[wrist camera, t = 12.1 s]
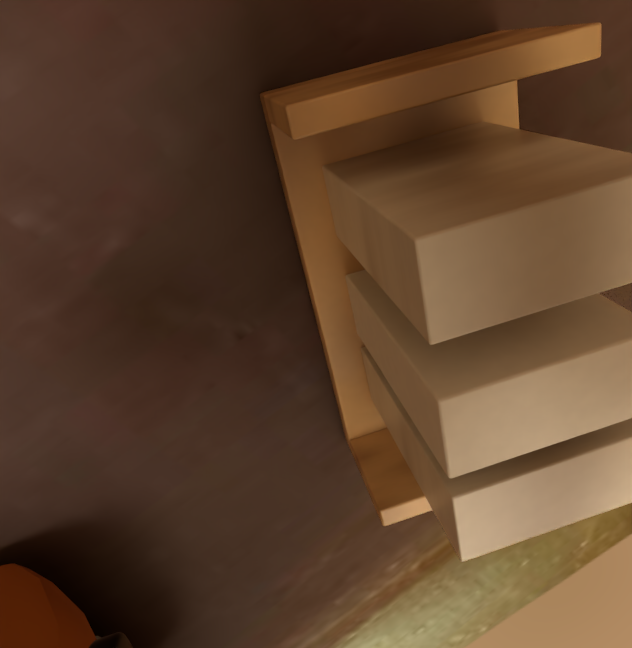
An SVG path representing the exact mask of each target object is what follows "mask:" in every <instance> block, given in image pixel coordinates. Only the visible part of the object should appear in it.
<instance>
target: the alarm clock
mask: <svg viewBox="0 0 632 648" xmlns="http://www.w3.org/2000/svg"><path fill="white" fill-rule="evenodd" d="M99 638H101V637H99V636H95V635H94V633H93V631H92V629H91V627H90V625H89V623H88V621H87V618H86V616H85V614H84V613H83V612H82V611H81V610H80V609H79V608H78V607H77V606H76V605H75V604H74V603H73V602H72V601H71V600H70V599H69V598H68V597H67V596H66V595H65V594H64V593H63V592H62V591H61V590H60V589H59V588H58V587H57V586H56V585H55V584H54V583H53V582H51V581H49V580H48V579H46V578H44V577H42V576H41V575H39V574H37V573H36V572H34V571H32V570H30V569H28V568H26V567H23V566H20V565H17V564H14V563H12V564H6V565H1V566H0V648H89V646H90V645H91V644H92V643H93V642H94V641H95V640H97V639H99Z"/></svg>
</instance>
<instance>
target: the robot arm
mask: <svg viewBox="0 0 632 648" xmlns="http://www.w3.org/2000/svg"><path fill="white" fill-rule="evenodd" d="M89 648H133V647H132V645H131V643H130V642H129V640H128V638H127V637H126V635H125V634H123V633H121V632H117V633H114V634H111V635H108V636H105V637H102V638H99V639H97V640H95V641H94V642H93V643H92V644H91V645H90V646H89Z"/></svg>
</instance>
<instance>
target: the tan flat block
mask: <svg viewBox="0 0 632 648" xmlns="http://www.w3.org/2000/svg"><path fill="white" fill-rule="evenodd" d="M346 283H347V287H348V292H349V297H350V301H351V306H352V311H353V315H354V320H355V325H356V330H357V333H358V335H359V336H360V338H361V340H362V341H363V343H364V344H365V346H366V348H367V349H368V351H369V352H370V354H371V356H372V357H373V359H374V360H375V362H376V364H377V365H378V367H379V368H380V370H381V371H382V373H383V375H384V376H385V378H386V379H387V381H388V383H389V384H390V386H391V387H392V389H393V391H394V392H395V394H396V395H397V397H398V399H399V400H400V402H401V403H402V405H403V406H404V408H405V410H406V411H407V413H408V414H409V416H410V418H411V419H412V421H413V422H414V424H415V426H416V427H417V429H418V430H419V432H420V434H421V435H422V437H423V438H424V440H425V441H426V443H427V445H428V446H429V448H430V449H431V451H432V453H433V454H434V456H435V457H436V459H437V461H438V462H439V464H440V465H441V467H442V469H443V470H444V472H445V473H446V475H447V476H448V478H454V477H457V476H460V475H463V474H466V473H469V472H472V471H475V470H478V469H481V468H484V467H487V466H490V465H493V464H496V463H499V462H502V461H505V460H508V459H511V458H514V457H517V456H520V455H523V454H526V453H529V452H532V451H535V450H538V449H541V448H544V447H547V446H550V445H553V444H556V443H559V442H562V441H565V440H568V439H571V438H574V437H577V436H580V435H583V434H586V433H589V432H592V431H595V430H598V429H601V428H604V427H607V426H610V425H613V424H616V423H619V422H622V421H625V420H628V419H631V418H632V312H630V311H629V310H627V309H625V308H623V307H622V306H620V305H618V304H616V303H615V302H613V301H611V300H609V299H608V298H606V297H604V296H602V295H601V294H599V293H597V294H593V295H590V296H587V297H584V298H581V299H577V300H574V301H571V302H568V303H565V304H561V305H558V306H555V307H552V308H549V309H545V310H542V311H539V312H536V313H533V314H529V315H526V316H523V317H520V318H517V319H513V320H510V321H507V322H504V323H500V324H497V325H494V326H491V327H488V328H484V329H481V330H478V331H475V332H472V333H468V334H465V335H462V336H459V337H456V338H452V339H449V340H446V341H443V342H440V343H436V344H433V345H430V344H429V343H428V342H427V341H426V340H425V338H424V337H423V336H422V335H421V334H420V333H419V331H418V330H417V329H416V328H415V327H414V326H413V324H412V323H411V322H410V321H409V320H408V319H407V317H406V316H405V315H404V314H403V313H402V311H401V310H400V309H399V308H398V307H397V306H396V304H395V303H394V302H393V301H392V300H391V299H390V297H389V296H388V295H387V294H386V293H385V292H384V290H383V289H382V288H381V287H380V286H379V285H378V283H377V282H376V281H375V280H374V279H373V278H372V276H371V275H370V274H369V273H368V272H367V271H366V269H365V270H362V271H359V272H355V273H352V274H348V275H346Z"/></svg>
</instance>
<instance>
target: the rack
mask: <svg viewBox="0 0 632 648" xmlns="http://www.w3.org/2000/svg"><path fill="white" fill-rule="evenodd" d="M600 56H601V23H586V24H574V25H562V26H550V27H539V28H527V29H515V30H502V31H496V32H492V33H488V34H484V35H480V36H477V37H473V38H469V39H465V40H461V41H458V42H454V43H450V44H446V45H442V46H438V47H435V48H431V49H427V50H423V51H419V52H415V53H412V54H408V55H404V56H400V57H396V58H393V59H389V60H385V61H381V62H377V63H373V64H370V65H366V66H362V67H358V68H354V69H350V70H347V71H343V72H339V73H335V74H331V75H328V76H324V77H320V78H316V79H312V80H308V81H305V82H301V83H297V84H293V85H289V86H285V87H282V88H278V89H274V90H270V91H266V92H263V93H260V99H261V103H262V107H263V111H264V115H265V119H266V123H267V127H268V131H269V135H270V139H271V143H272V147H273V151H274V155H275V159H276V163H277V167H278V171H279V175H280V179H281V183H282V187H283V191H284V195H285V199H286V203H287V207H288V211H289V215H290V218H291V222H292V226H293V230H294V234H295V238H296V242H297V246H298V250H299V254H300V258H301V262H302V266H303V270H304V274H305V278H306V282H307V286H308V290H309V294H310V298H311V302H312V306H313V310H314V314H315V318H316V322H317V326H318V330H319V334H320V338H321V342H322V346H323V350H324V354H325V358H326V362H327V366H328V370H329V374H330V378H331V382H332V386H333V389H334V393H335V397H336V401H337V405H338V409H339V413H340V417H341V421H342V425H343V429H344V433H345V437H346V441H347V443H348V445H349V448H350V450H351V452H352V455H353V457H354V459H355V462H356V464H357V466H358V469H359V471H360V473H361V476H362V478H363V481H364V483H365V485H366V488H367V490H368V492H369V495H370V497H371V499H372V502H373V504H374V507H375V509H376V511H377V514H378V516H379V518H380V521H381V523H382V525H383V526H387V525H390V524H393V523H396V522H399V521H402V520H405V519H408V518H411V517H414V516H417V515H420V514H423V513H425V512H428V511H431V510H433V512H434V513H435V515H436V517H437V519H438V521H439V523H440V524H441V526H442V528H443V530H444V532H445V534H446V535H447V537H448V539H449V541H450V543H451V544H452V546H453V548H454V550H455V552H456V554H457V555H458V557H459V559H460V561H461V562H464V561H467V560H470V559H472V558H475V557H478V556H481V555H484V554H487V553H490V552H492V551H495V550H498V549H501V548H504V547H507V546H509V545H512V544H515V543H518V542H521V541H524V540H527V539H529V538H532V537H535V536H538V535H541V534H544V533H547V532H549V531H552V530H555V529H558V528H561V527H564V526H566V525H569V524H572V523H575V522H578V521H581V520H584V519H586V518H589V517H592V516H595V515H598V514H601V513H604V512H606V511H609V510H612V509H615V508H618V507H621V506H624V505H626V504H629V503H632V418H631V419H628V420H625V421H622V422H619V423H616V424H613V425H610V426H607V427H604V428H601V429H598V430H595V431H592V432H589V433H586V434H583V435H580V436H577V437H574V438H571V439H568V440H565V441H562V442H559V443H556V444H553V445H550V446H547V447H544V448H541V449H538V450H535V451H532V452H529V453H526V454H523V455H520V456H517V457H514V458H511V459H508V460H505V461H502V462H499V463H496V464H493V465H490V466H487V467H484V468H481V469H478V470H475V471H472V472H469V473H466V474H463V475H460V476H457V477H454V478H448V476H447V475H446V473H445V472H444V470H443V469H442V467H441V465H440V464H439V462H438V461H437V459H436V457H435V456H434V454H433V453H432V451H431V449H430V448H429V446H428V445H427V443H426V441H425V440H424V438H423V437H422V435H421V434H420V432H419V430H418V429H417V427H416V426H415V424H414V422H413V421H412V419H411V418H410V416H409V414H408V413H407V411H406V410H405V408H404V406H403V405H402V403H401V402H400V400H399V399H398V397H397V395H396V394H395V392H394V391H393V389H392V387H391V386H390V384H389V383H388V381H387V379H386V378H385V376H384V375H383V373H382V371H381V370H380V368H379V367H378V365H377V364H376V362H375V360H374V359H373V357H372V356H371V354H370V352H369V351H368V349H367V348H366V346H365V344H364V343H363V341H362V340H361V338H360V336H359V335H358V333H357V330H356V325H355V320H354V315H353V311H352V306H351V301H350V297H349V292H348V287H347V283H346V275H348V274H352V273H355V272H359V271H362V270H365V269H366V271H367V272H368V273H369V274H370V275H371V276H372V278H373V279H374V280H375V281H376V282H377V283H378V285H379V286H380V287H381V288H382V289H383V290H384V292H385V293H386V294H387V295H388V296H389V297H390V299H391V300H392V301H393V302H394V303H395V304H396V306H397V307H398V308H399V309H400V310H401V311H402V313H403V314H404V315H405V316H406V317H407V319H408V320H409V321H410V322H411V323H412V324H413V326H414V327H415V328H416V329H417V330H418V331H419V333H420V334H421V335H422V336H423V337H424V338H425V340H426V341H427V342H428V343H429V344H430V345H433V344H436V343H440V342H443V341H446V340H449V339H452V338H456V337H459V336H462V335H465V334H468V333H472V332H475V331H478V330H481V329H484V328H488V327H491V326H494V325H497V324H500V323H504V322H507V321H510V320H513V319H517V318H520V317H523V316H526V315H529V314H533V313H536V312H539V311H542V310H545V309H549V308H552V307H555V306H558V305H561V304H565V303H568V302H571V301H574V300H577V299H581V298H584V297H587V296H590V295H593V294H597V293H600V292H603V291H606V290H609V289H613V288H616V287H619V286H622V285H626V284H629V283H632V153H628V152H623V151H619V150H614V149H609V148H605V147H600V146H595V145H591V144H586V143H581V142H577V141H572V140H567V139H563V138H558V137H553V136H549V135H544V134H539V133H535V132H530V131H525V130H521V129H519V112H518V90H517V80H519V79H523V78H526V77H530V76H534V75H537V74H541V73H545V72H548V71H552V70H556V69H559V68H563V67H567V66H571V65H574V64H578V63H582V62H585V61H589V60H593V59H596V58H599V57H600Z"/></svg>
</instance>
